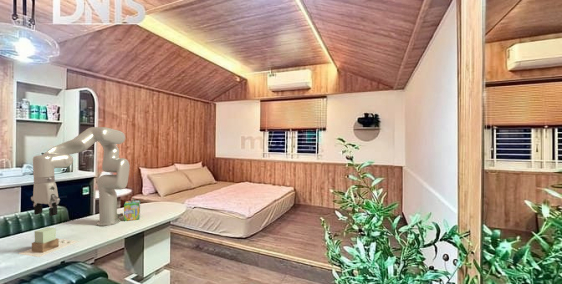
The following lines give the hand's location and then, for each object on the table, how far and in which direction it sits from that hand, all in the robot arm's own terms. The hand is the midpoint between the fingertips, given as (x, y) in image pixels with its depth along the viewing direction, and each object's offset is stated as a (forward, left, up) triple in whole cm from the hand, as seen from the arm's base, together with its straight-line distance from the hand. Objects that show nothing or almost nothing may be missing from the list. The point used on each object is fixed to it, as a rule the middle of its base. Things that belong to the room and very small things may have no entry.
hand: (46, 214), depth 125 cm
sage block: (0, 0, -13) cm, 13 cm away
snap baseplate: (-1, 0, -18) cm, 18 cm away
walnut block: (+1, 0, -17) cm, 17 cm away
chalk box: (-50, +2, -18) cm, 54 cm away
